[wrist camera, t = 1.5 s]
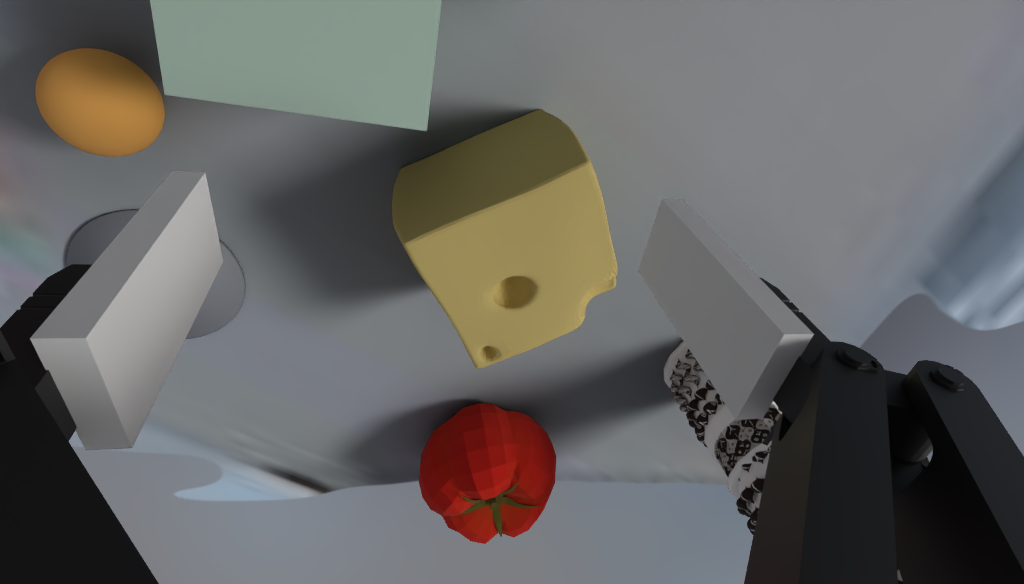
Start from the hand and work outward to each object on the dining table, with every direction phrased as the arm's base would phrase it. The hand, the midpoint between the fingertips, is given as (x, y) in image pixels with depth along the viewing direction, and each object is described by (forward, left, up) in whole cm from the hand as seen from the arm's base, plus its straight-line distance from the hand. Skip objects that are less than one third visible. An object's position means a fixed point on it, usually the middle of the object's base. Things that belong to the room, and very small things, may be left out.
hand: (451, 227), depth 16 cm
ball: (+3, -15, -16) cm, 22 cm away
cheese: (+7, +6, -19) cm, 21 cm away
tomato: (+30, +9, -19) cm, 36 cm away
